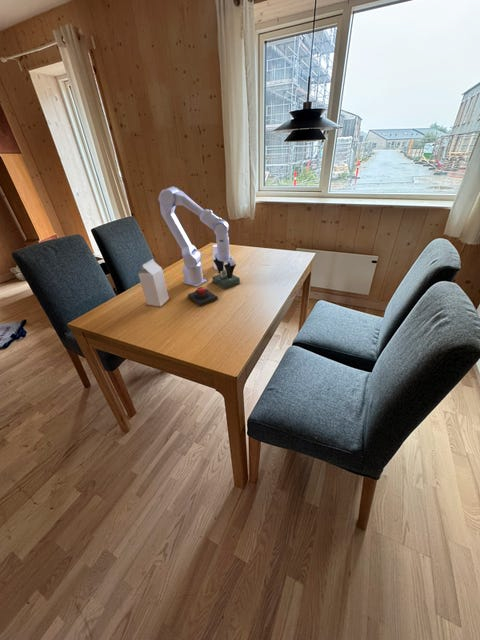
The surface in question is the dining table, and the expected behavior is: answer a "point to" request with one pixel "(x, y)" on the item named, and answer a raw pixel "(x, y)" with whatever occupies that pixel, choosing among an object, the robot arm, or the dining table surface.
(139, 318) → the dining table surface
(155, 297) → the milk carton
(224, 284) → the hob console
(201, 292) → the button
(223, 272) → the hob knob
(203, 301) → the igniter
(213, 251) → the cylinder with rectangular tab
